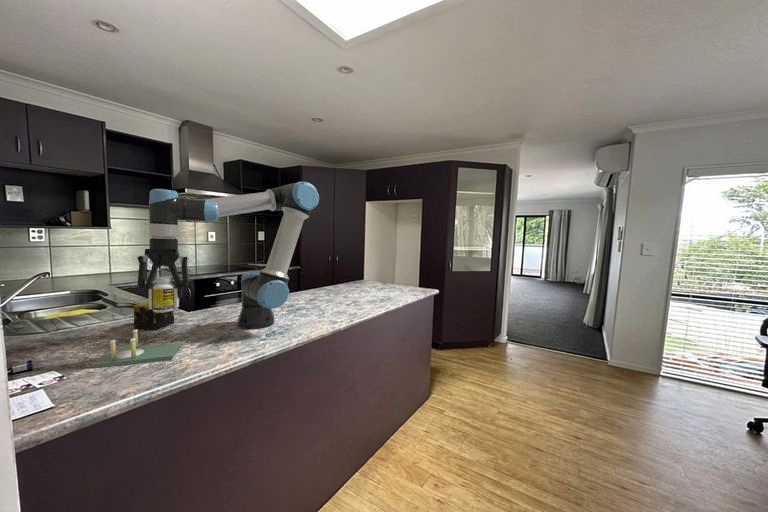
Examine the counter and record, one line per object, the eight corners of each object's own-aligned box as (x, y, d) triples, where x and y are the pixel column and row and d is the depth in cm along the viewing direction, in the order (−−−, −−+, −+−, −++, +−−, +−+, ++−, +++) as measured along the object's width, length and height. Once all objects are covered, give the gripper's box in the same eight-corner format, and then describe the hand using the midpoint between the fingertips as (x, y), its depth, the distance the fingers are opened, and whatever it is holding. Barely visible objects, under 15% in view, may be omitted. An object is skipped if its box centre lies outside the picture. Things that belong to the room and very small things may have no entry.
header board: (181, 346, 109) (181, 325, 109) (171, 359, 98) (171, 337, 97) (111, 352, 102) (110, 331, 102) (92, 368, 91) (91, 344, 90)
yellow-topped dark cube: (154, 322, 135) (154, 299, 135) (175, 323, 134) (174, 301, 133) (133, 329, 125) (132, 305, 125) (155, 331, 124) (154, 306, 123)
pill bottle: (164, 313, 98) (163, 279, 97) (148, 312, 99) (147, 278, 98) (180, 309, 104) (180, 276, 103) (164, 307, 105) (164, 275, 104)
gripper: (199, 238, 107) (199, 303, 108) (132, 236, 100) (132, 306, 101) (195, 239, 100) (195, 308, 101) (122, 236, 93) (123, 311, 94)
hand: (164, 307), depth 101 cm, fingers closed on pill bottle, 6 cm apart
